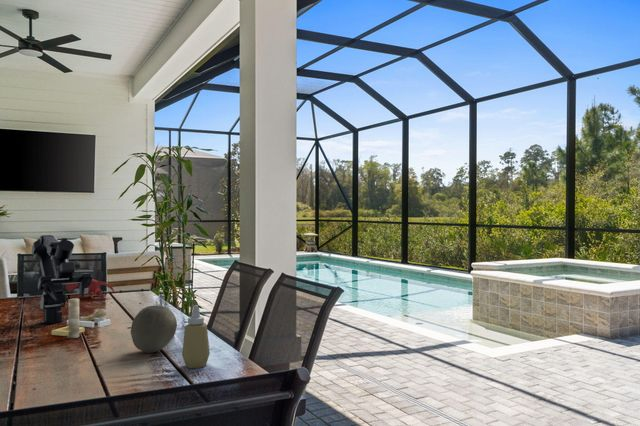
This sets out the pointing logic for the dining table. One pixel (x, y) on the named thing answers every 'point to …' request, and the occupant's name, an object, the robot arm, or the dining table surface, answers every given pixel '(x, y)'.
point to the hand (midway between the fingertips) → (69, 298)
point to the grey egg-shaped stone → (153, 328)
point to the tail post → (73, 318)
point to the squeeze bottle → (195, 341)
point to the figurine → (93, 316)
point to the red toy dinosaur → (91, 287)
